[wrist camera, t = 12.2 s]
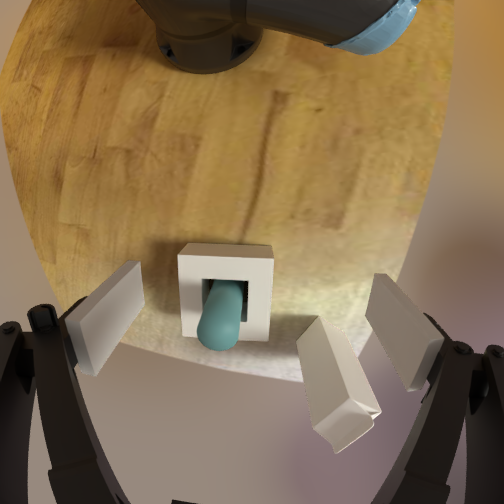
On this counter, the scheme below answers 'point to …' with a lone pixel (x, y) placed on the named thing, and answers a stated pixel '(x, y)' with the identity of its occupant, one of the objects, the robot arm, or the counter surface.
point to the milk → (335, 385)
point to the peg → (221, 315)
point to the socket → (227, 268)
